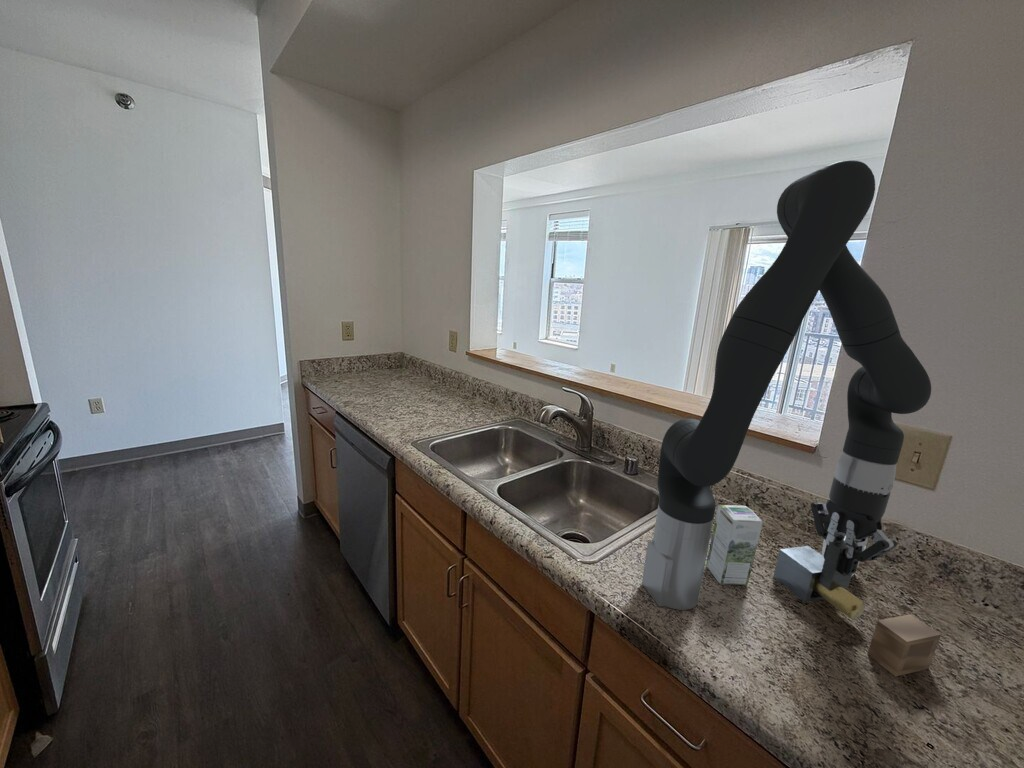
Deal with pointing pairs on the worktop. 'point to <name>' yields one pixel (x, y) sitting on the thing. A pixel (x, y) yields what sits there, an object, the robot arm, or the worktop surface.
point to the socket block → (903, 644)
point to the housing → (800, 571)
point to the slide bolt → (837, 582)
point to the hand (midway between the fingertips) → (838, 568)
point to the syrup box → (733, 544)
